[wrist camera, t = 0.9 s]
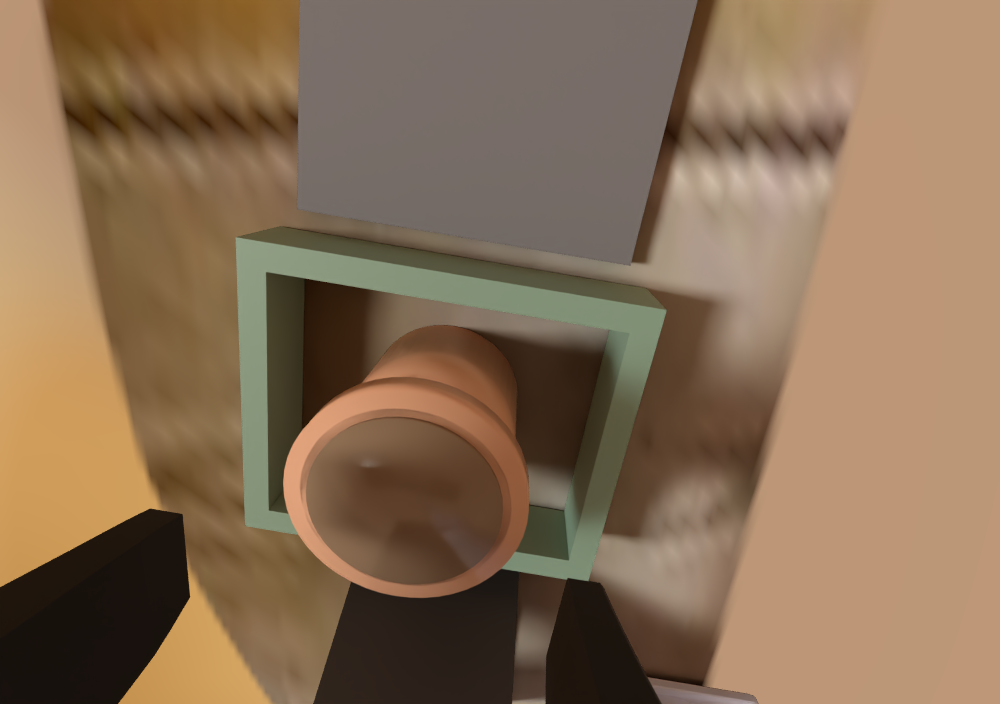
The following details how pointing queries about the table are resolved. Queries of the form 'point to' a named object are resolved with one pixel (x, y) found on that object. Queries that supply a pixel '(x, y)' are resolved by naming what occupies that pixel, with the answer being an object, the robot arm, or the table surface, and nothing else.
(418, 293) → the frame
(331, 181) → the slate mat
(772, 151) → the table surface
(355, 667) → the phone stand
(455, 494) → the terracotta pot
